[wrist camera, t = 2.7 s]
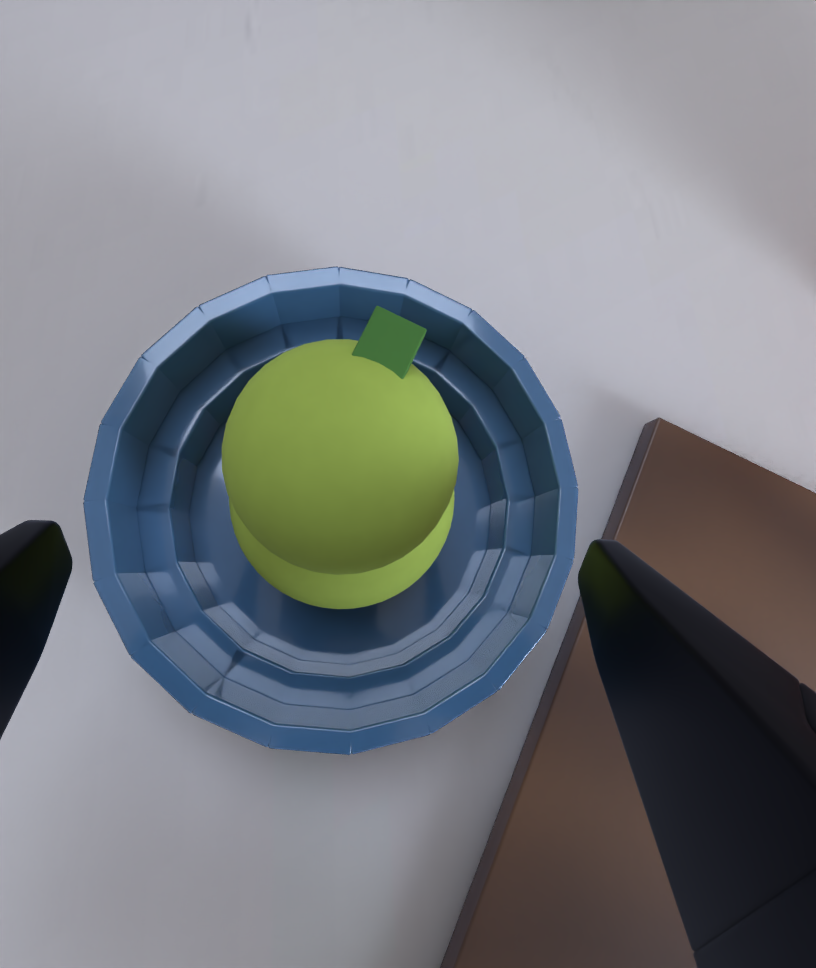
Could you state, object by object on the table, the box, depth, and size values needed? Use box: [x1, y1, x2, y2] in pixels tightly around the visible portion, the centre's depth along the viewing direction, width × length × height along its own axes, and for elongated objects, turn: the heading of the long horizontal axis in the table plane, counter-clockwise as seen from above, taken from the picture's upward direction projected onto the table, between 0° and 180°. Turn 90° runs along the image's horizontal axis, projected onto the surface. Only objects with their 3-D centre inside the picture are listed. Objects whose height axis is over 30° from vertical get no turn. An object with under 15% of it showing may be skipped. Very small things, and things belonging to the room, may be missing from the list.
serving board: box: [440, 418, 816, 968], centre depth 18 cm, size 22×16×1 cm
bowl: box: [83, 267, 578, 755], centre depth 17 cm, size 13×13×4 cm
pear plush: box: [222, 306, 459, 609], centre depth 13 cm, size 6×6×11 cm
